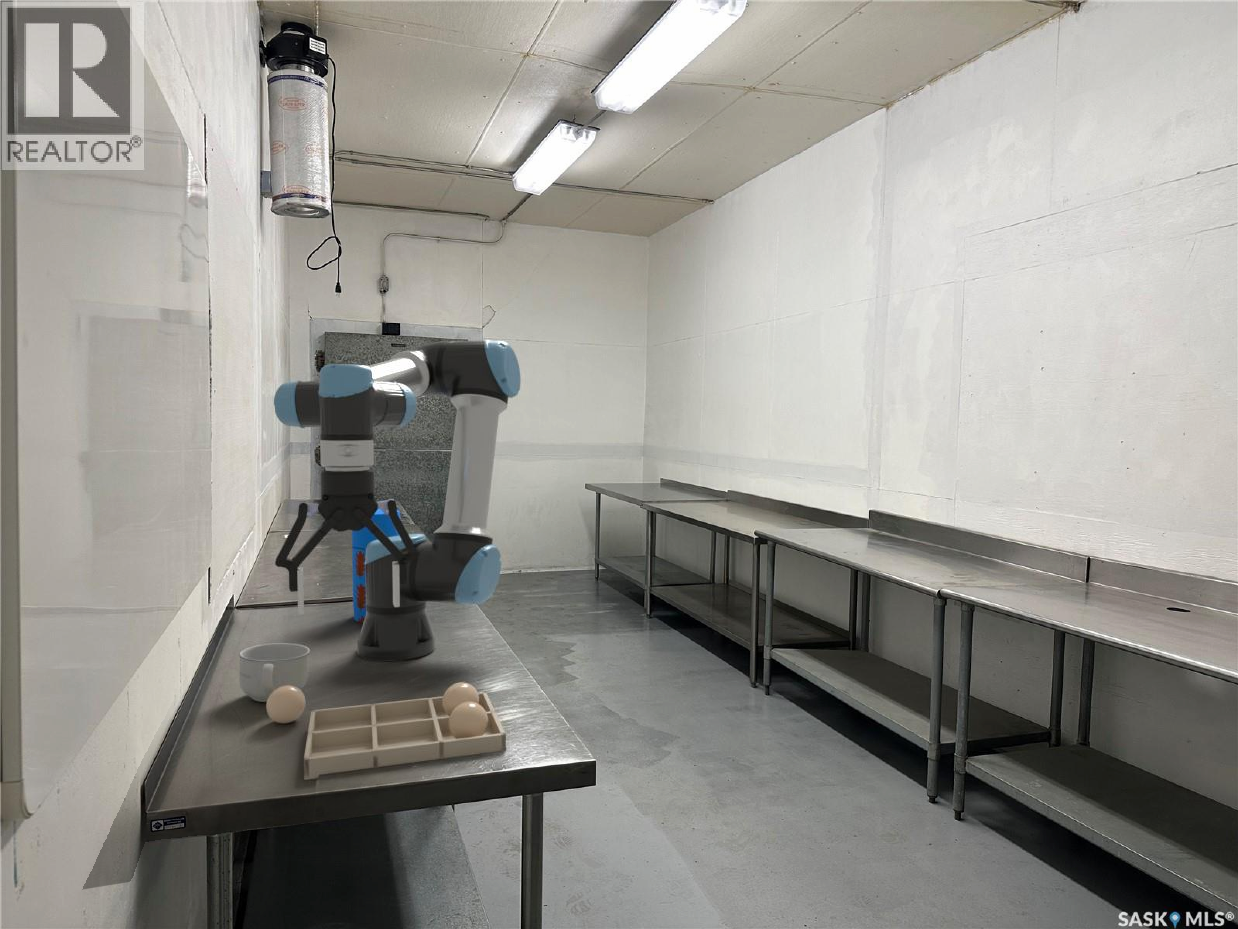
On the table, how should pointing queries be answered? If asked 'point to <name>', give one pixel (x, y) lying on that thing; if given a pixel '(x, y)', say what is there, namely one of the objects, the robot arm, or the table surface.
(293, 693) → the egg
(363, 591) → the thermos
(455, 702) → the egg back left
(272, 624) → the table surface
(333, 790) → the table surface
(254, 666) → the teacup
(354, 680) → the table surface
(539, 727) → the table surface
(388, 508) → the robot arm
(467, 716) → the egg front left
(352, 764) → the carton
